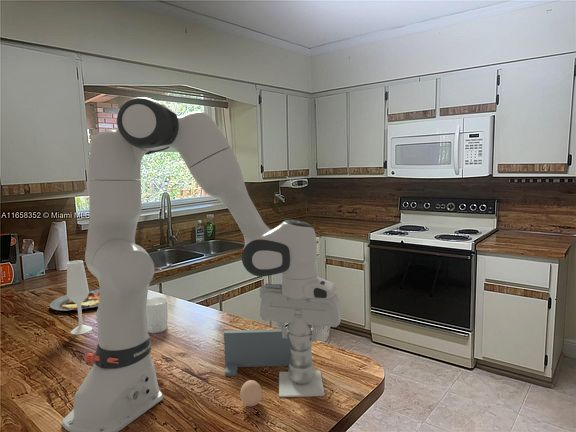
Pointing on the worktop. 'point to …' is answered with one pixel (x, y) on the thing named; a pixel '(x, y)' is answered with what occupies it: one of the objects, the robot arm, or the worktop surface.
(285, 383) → the grey mat
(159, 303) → the white cup
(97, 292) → the food plate
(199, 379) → the worktop surface
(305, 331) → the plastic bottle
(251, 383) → the egg
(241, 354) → the slate screen
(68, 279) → the champagne flute
